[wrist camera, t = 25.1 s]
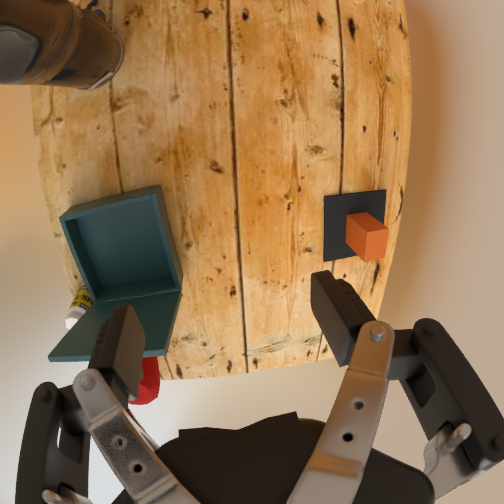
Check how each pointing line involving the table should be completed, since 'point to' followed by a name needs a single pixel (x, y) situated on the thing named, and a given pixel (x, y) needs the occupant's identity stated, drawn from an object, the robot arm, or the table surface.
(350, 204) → the mat
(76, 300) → the supplement bottle
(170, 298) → the lunchbox lid
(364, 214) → the block
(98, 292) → the box
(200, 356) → the table surface
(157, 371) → the apple
